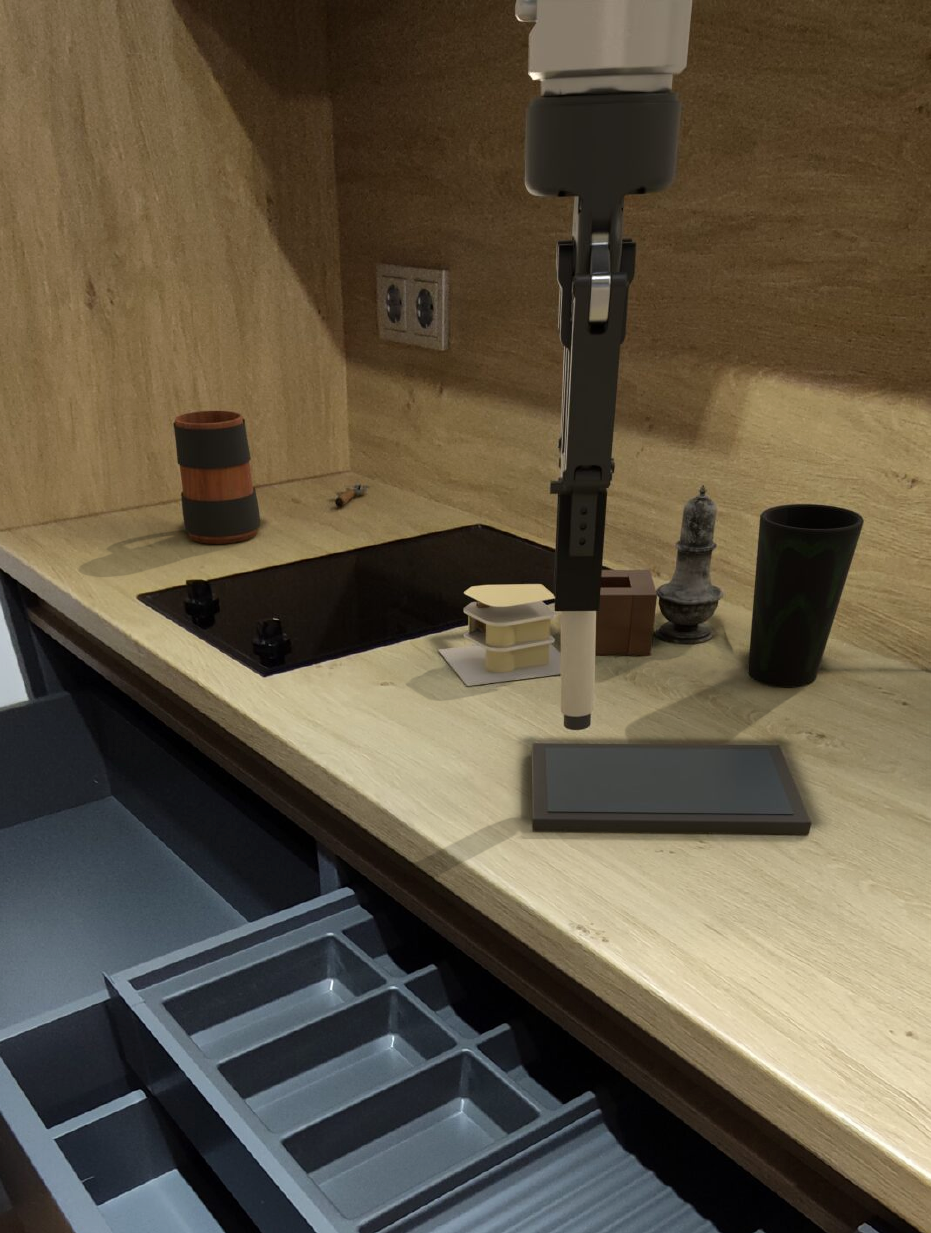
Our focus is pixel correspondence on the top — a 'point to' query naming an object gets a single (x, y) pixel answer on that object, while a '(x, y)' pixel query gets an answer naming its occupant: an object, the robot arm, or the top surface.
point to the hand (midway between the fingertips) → (575, 600)
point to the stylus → (577, 664)
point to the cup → (798, 589)
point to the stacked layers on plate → (506, 635)
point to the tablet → (665, 789)
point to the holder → (625, 613)
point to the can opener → (349, 495)
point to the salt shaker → (691, 577)
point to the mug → (216, 477)
